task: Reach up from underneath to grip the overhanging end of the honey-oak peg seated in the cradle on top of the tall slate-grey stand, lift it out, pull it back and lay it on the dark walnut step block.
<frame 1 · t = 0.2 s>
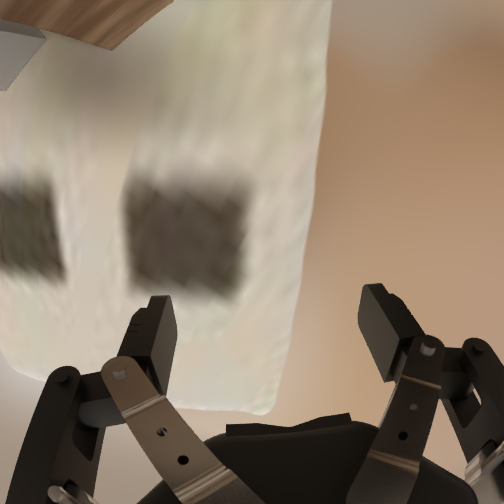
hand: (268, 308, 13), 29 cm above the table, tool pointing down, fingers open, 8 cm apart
grey stand: (7, 40, 28), on the table
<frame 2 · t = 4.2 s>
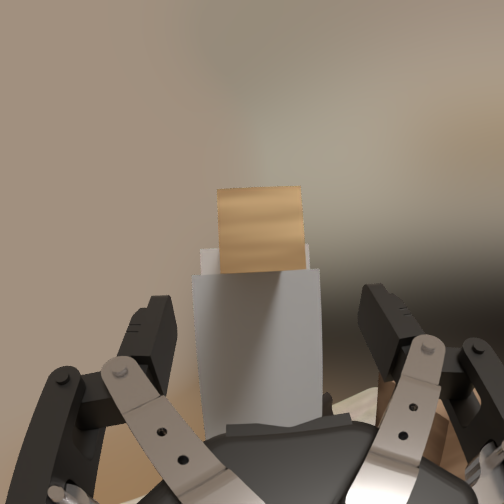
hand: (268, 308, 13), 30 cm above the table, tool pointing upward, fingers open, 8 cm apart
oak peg: (254, 272, 28), point 32 cm above the table, touching grey stand
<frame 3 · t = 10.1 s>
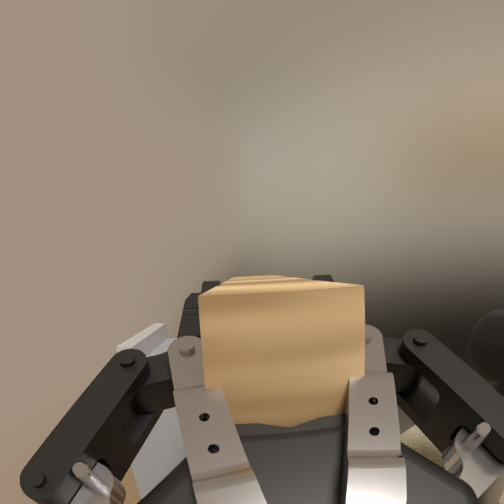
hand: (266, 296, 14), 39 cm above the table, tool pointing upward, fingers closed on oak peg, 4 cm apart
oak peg: (262, 340, 20), point 36 cm above the table, touching gripper
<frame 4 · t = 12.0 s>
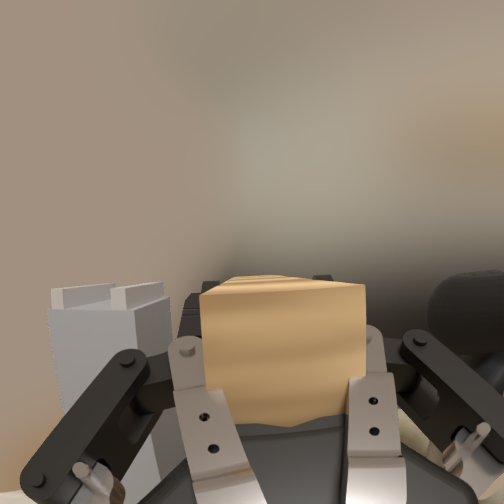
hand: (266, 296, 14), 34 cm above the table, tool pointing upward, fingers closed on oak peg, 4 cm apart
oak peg: (262, 340, 20), point 31 cm above the table, touching gripper
when the fingers open (26 cm above the table, at t = 13.7 s): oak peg stays where it is, resting on walnut step.
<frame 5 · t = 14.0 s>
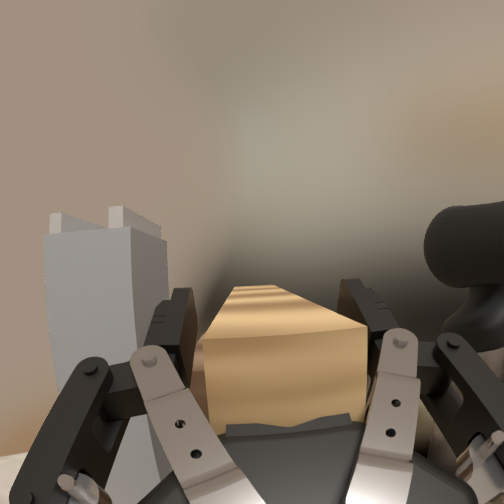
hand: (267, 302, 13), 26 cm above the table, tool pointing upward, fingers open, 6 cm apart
grey stand: (143, 480, 32), on the table
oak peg: (263, 355, 20), point 22 cm above the table, touching walnut step
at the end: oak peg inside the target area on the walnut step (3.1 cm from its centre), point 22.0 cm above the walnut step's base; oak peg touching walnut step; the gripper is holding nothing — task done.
